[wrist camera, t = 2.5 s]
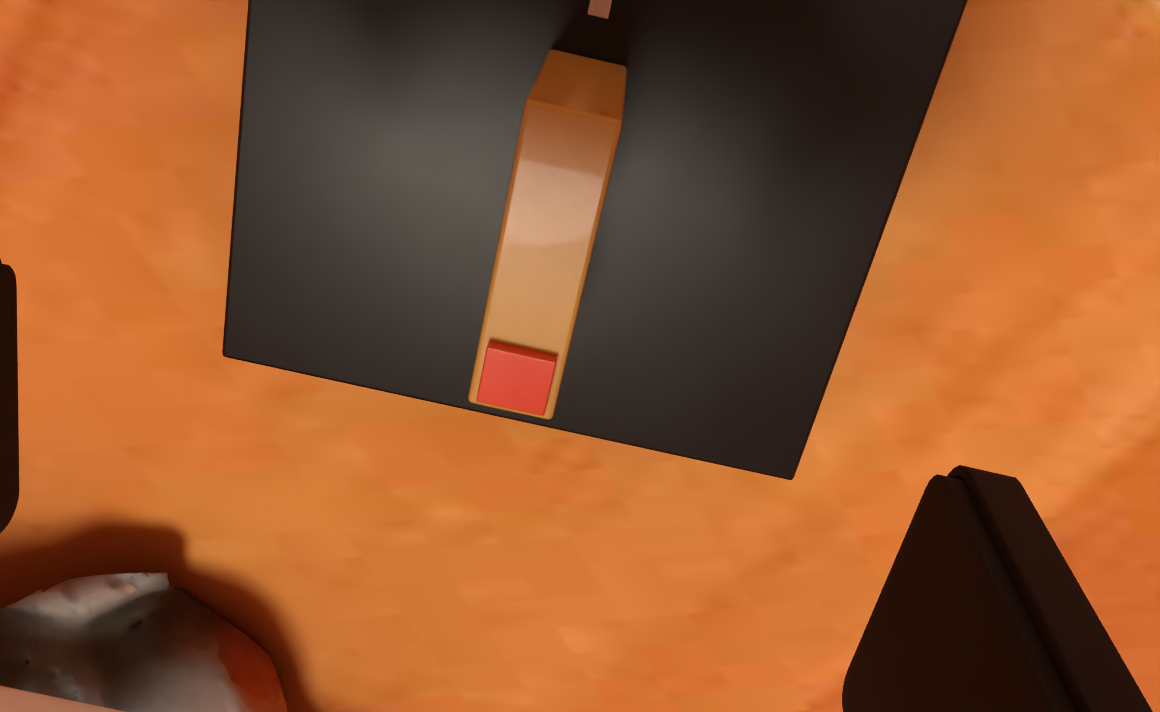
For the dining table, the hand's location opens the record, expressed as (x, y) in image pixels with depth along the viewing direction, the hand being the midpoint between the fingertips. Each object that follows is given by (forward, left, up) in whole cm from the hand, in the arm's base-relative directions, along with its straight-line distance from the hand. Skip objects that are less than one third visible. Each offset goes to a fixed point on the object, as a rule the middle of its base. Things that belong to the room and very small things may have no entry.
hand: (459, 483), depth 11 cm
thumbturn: (0, 0, -10) cm, 10 cm away
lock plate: (0, 0, -13) cm, 13 cm away
